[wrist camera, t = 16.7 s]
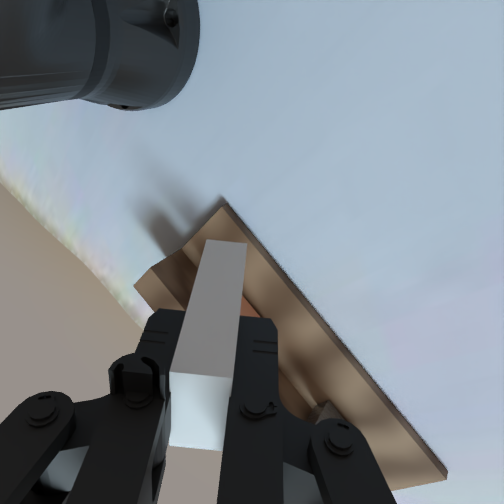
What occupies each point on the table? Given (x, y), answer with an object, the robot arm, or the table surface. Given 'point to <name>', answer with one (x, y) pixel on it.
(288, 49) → the table surface
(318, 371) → the brown piece
